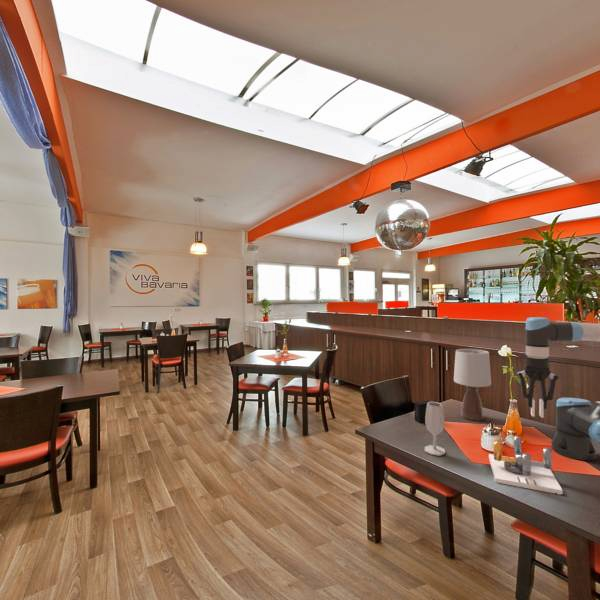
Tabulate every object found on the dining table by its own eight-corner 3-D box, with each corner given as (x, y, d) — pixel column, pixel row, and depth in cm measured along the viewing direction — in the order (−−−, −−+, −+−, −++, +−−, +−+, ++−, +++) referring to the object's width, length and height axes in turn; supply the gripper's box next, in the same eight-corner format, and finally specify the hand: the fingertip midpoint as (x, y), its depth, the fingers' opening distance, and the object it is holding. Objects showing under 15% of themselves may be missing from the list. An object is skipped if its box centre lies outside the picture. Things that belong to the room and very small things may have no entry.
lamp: (492, 414, 188) (492, 349, 187) (490, 426, 172) (490, 355, 171) (456, 409, 198) (455, 347, 197) (451, 419, 182) (451, 352, 181)
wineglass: (428, 445, 152) (427, 399, 151) (448, 450, 146) (448, 403, 146) (421, 452, 145) (421, 404, 144) (442, 458, 139) (441, 408, 139)
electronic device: (414, 420, 181) (414, 402, 181) (429, 418, 184) (429, 400, 184) (419, 423, 177) (419, 404, 177) (435, 420, 180) (434, 402, 180)
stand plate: (546, 466, 132) (546, 462, 132) (562, 494, 113) (562, 489, 113) (488, 457, 140) (488, 453, 140) (495, 482, 121) (495, 477, 121)
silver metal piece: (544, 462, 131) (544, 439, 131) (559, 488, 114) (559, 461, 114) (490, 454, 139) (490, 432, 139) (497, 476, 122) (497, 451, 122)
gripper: (557, 356, 131) (557, 415, 131) (512, 353, 137) (512, 410, 137) (564, 359, 124) (564, 422, 124) (516, 357, 130) (516, 416, 131)
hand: (537, 416), depth 131 cm, fingers open, 2 cm apart
